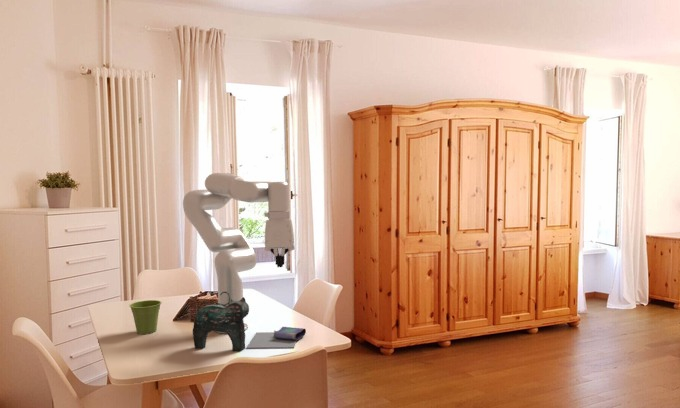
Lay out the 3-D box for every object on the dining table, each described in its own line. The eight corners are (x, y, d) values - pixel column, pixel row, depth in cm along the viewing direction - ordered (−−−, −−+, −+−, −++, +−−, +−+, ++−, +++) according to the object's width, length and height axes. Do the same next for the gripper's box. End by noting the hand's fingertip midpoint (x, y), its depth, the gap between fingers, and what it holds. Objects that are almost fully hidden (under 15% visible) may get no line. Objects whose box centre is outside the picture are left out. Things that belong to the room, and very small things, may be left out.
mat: (246, 348, 173) (246, 347, 173) (256, 333, 191) (256, 332, 191) (293, 348, 173) (293, 347, 173) (299, 333, 191) (299, 331, 191)
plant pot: (124, 332, 196) (123, 304, 196) (153, 326, 205) (152, 298, 204) (138, 338, 188) (137, 308, 188) (168, 331, 197) (167, 302, 196)
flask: (295, 333, 178) (268, 331, 182) (295, 342, 178) (268, 340, 182) (305, 327, 187) (279, 325, 190) (306, 335, 187) (280, 333, 190)
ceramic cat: (251, 347, 174) (249, 290, 174) (243, 353, 168) (241, 294, 167) (199, 344, 179) (197, 289, 178) (189, 350, 173) (188, 292, 172)
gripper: (256, 217, 177) (257, 268, 178) (298, 216, 177) (299, 268, 177) (260, 215, 184) (261, 265, 185) (300, 215, 184) (301, 264, 185)
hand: (280, 266), depth 181 cm, fingers closed
